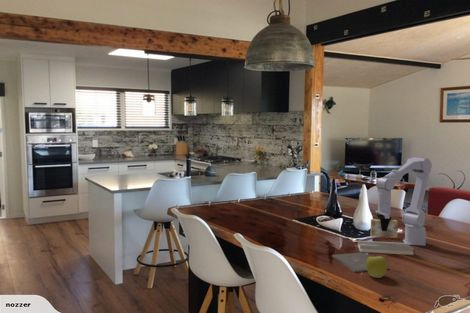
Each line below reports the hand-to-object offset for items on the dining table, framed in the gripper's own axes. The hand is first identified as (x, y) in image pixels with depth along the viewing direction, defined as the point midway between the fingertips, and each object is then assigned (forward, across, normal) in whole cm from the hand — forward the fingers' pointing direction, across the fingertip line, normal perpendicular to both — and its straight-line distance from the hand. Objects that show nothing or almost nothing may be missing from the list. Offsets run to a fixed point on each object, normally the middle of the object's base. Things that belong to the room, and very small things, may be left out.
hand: (383, 229), depth 200 cm
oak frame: (+3, 0, 0) cm, 3 cm away
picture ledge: (+9, +2, 0) cm, 10 cm away
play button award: (+10, +22, -15) cm, 29 cm away
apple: (+10, +38, -10) cm, 40 cm away
